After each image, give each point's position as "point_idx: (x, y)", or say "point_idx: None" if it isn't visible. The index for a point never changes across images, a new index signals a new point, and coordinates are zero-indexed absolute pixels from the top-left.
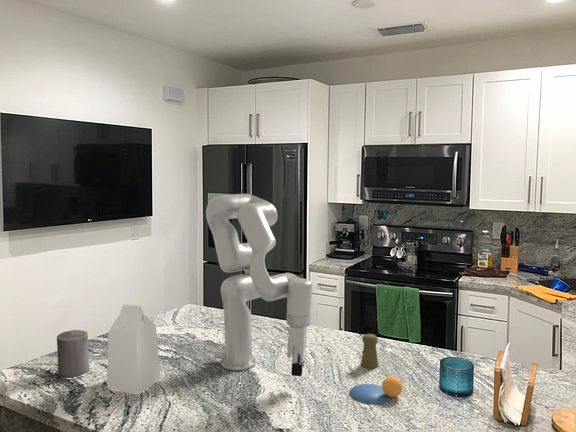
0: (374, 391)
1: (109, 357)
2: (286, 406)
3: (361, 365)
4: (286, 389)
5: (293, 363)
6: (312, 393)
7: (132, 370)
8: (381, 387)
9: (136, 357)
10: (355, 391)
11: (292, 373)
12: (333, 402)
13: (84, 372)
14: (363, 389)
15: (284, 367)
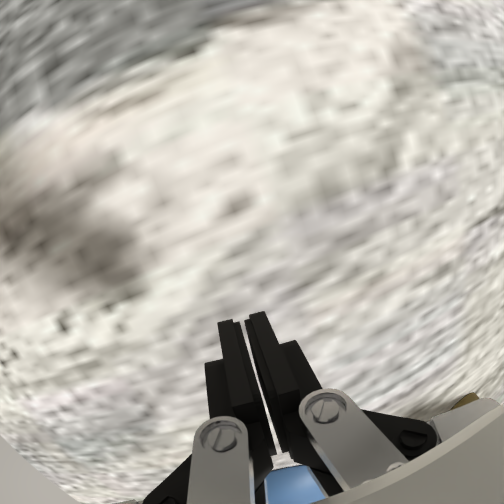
0: (295, 499)
1: None
2: (19, 320)
3: (459, 402)
4: (190, 244)
5: (200, 443)
6: (204, 388)
7: None
8: (324, 497)
9: None
10: (280, 480)
11: (220, 336)
12: (167, 461)
13: None
14: (302, 484)
15: (451, 135)
